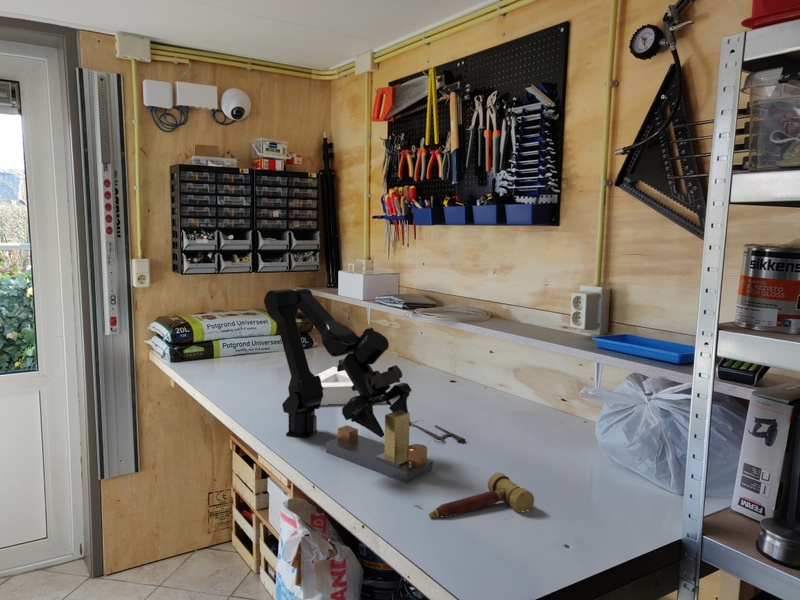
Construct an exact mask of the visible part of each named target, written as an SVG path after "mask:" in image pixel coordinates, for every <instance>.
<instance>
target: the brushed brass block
mask: <svg viewBox="0 0 800 600" xmlns="http://www.w3.org/2000/svg"><path fill="white" fill-rule="evenodd" d="M384 417H385V418H384V444H385V458H388V459H390V460H393V461H396V460H398V459H400V458H403V457H405V456H407V447H408V446H409V445H410V427H409V420H410V421H411V419H410V417H411V416H410V412H409V411H408V412H405V411H402V410H398V411H395V412H392V411H391V412H389V413H386V414H385V416H384Z"/></svg>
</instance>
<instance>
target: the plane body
mask: <svg viewBox="0 0 800 600" xmlns="http://www.w3.org/2000/svg"><path fill="white" fill-rule="evenodd" d="M325 452H326V453H327V454H330V455H333V456H336V457H338V458H341V459H343V460H346V461H347V462H348V461H349V462H351V463H353V464H356V465H358V466H361V467H363V468H366V469H369V470H372V471H374V472H376V473H379V474H381V475H385V476H386V477H390V478H392V479H395V480H397V481H399V482H402V483H405V484H409V483H411V482H413V481H416V480H417V479H419V478H421V477H424V476H426V475H428V474H429V473H432V472H433V471H434V461H433V460H434V459H433V460H432V459H430V458H428V446H426V445H424V444H420V443H415V444H409V446H408V447H407V456H405V457H403V458H400V459H398V460H396V461H393V460H390V459H388V458H385V443H383V442H381V441H378V440H374V439H371V438H368V437H366V436H363V435H360V434H359V428H356V427H354V426H353V427H352V426H350V425H343V426H341V427H338V428H337V437H336V438H334V439H331V440H329V441H325Z"/></svg>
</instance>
